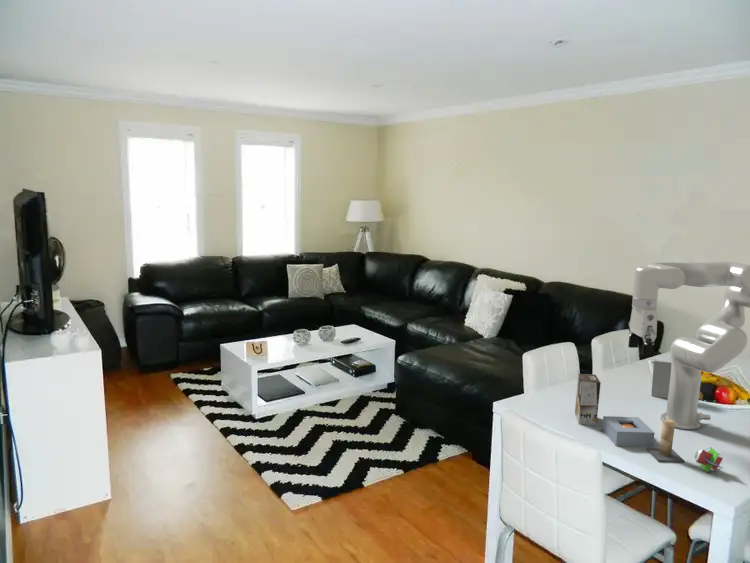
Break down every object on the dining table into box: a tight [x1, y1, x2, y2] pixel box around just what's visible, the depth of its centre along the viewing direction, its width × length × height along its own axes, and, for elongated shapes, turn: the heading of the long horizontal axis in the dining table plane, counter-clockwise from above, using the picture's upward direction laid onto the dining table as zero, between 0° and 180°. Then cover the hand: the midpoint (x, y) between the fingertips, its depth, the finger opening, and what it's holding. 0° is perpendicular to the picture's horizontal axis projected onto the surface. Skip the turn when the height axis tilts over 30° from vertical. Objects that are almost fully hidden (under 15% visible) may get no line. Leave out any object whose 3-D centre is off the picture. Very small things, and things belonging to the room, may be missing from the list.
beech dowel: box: [658, 419, 676, 457], centre depth 171 cm, size 3×3×11 cm
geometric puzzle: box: [694, 447, 724, 474], centre depth 164 cm, size 7×7×8 cm
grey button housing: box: [601, 415, 655, 448], centre depth 184 cm, size 12×12×5 cm
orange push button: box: [622, 424, 634, 428], centre depth 184 cm, size 4×4×4 cm
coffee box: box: [574, 373, 601, 427], centre depth 197 cm, size 9×6×16 cm
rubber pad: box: [645, 447, 686, 464], centre depth 172 cm, size 8×8×1 cm
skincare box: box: [650, 355, 671, 400], centre depth 221 cm, size 8×7×16 cm
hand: (639, 351), depth 187 cm, fingers open, 9 cm apart
